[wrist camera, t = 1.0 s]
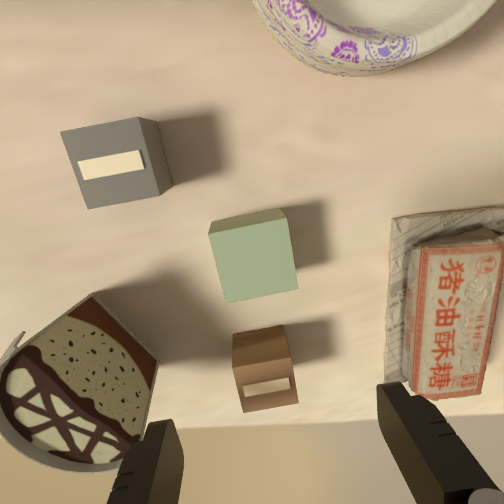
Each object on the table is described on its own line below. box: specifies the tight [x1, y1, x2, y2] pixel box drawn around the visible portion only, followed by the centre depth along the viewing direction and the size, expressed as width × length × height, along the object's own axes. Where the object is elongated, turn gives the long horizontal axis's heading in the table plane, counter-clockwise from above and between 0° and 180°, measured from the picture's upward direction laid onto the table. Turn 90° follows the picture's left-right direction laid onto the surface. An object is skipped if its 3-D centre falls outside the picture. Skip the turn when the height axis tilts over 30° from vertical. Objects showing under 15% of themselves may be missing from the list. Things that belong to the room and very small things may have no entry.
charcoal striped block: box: [60, 117, 173, 209], centre depth 23 cm, size 5×5×5 cm
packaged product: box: [384, 208, 504, 401], centre depth 29 cm, size 18×5×10 cm
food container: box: [0, 293, 160, 473], centre depth 26 cm, size 12×6×10 cm, turn 35°
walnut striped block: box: [232, 325, 299, 413], centre depth 29 cm, size 5×5×5 cm
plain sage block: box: [208, 208, 298, 304], centre depth 26 cm, size 6×6×4 cm
